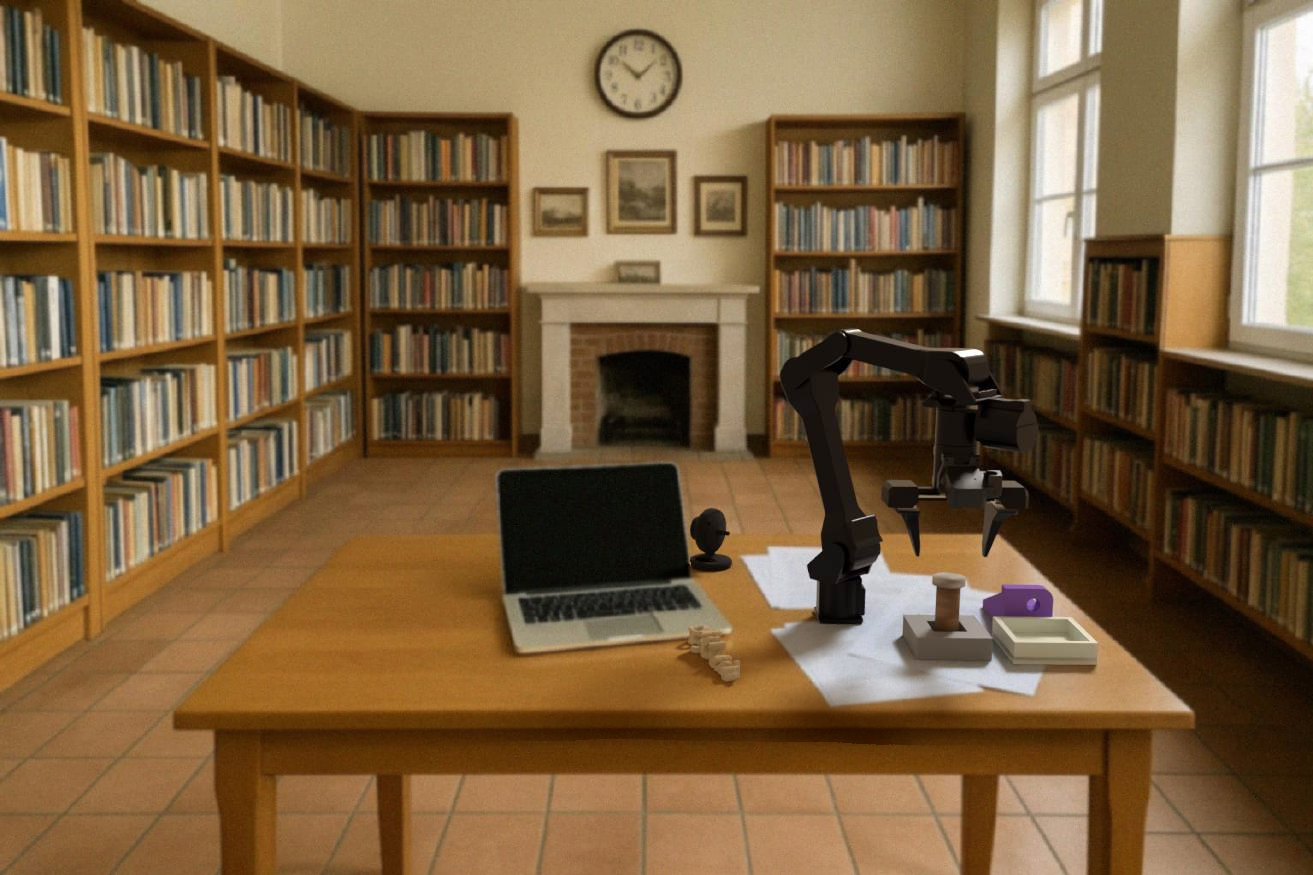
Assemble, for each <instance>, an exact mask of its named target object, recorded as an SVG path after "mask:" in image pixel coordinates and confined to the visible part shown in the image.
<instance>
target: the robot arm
mask: <svg viewBox="0 0 1313 875" xmlns="http://www.w3.org/2000/svg"><path fill="white" fill-rule="evenodd" d="M854 361H857V362H860V363H863V364H868V365H871V366H876V367H880V368H883V369H887V370H890V371H894V372H899V373H903V374H905V375H910V376H912V377H914V378H916V379H918V380H919V381H920V382H921V383H922V384H923V385H925V386H927V387H929V388H931V389H932V390H933V392H932V393H931V395H930V396H928V397H927V398H925V400H923V401H922V402H921V406H922V407H923V408H928V409H929V408H930V409H936V410H935V414H936V415H935V434H934V446H933V452H932V454H933V473H932V474H933V475H931V485H932V486H918V485H917V484H916V483H915V482H913V480H911V479H886V480H885V481H884V482H883V483H882V484H881V495H880V499H881V501H882V502H883V503H884V504H885V506H887V508H891V509H893V510H894V511H895V512H896V513H897V514H898V515H899V514H900V515H901V517H902V519H903V522H904V524H905V527H906V531H907V533H908V536H909V539H910V543H911V546H912V549H913V552H914V556H915V557H917V558H920V555H921V534H920V515H921V510H920V509H919V508H918V506H917V505H918V504H919V501H920V502H921V501H922V502H923V501H926V502H928V501H929V502H941V501H942V502H947V505H948V506H949V507H950V508H952V509H954V510H961V509H962V508H963V509H964V508H965V509H966V508H967V509H970V508H971V509H975V510H983V509H984V514H983V515H984V516H983V527H982V537H981V539H982V540H981V553H982V554H981V555H982V557H984V558H987V557H988V556H989V554H990V552H991V549H992V547H993V546H994V545H993V544H994V542H995V540H996V538H997V535H998V533H999V531H1000V529H1001V527H1002V525H1004V524H1003V523H1004V522H1005V521H1006V520H1007V519H1008V518H1009V517H1010V516H1013V515H1015V516H1016V515H1018V513H1019V510H1027V509H1029V505H1030V504H1029V503H1030V501H1029V499H1030V495H1029V491H1028V490H1027V488H1026V487H1024V486H1023V485H1022V484H1020V483H1019V482H1017V481H1016V480H1003V474H1002V472H1001V470H993V469H990V470H989V469H988V470H984V471H983V470H982V467H981V458H980V456H981V454H980V453H979V445H981V446H983V448H986V449H987V448H988V449H994V450H1002V451H1009V452H1013V453H1014V452H1015V453H1021V454H1027V453H1030V451H1031V450H1033V448H1034V446H1035V445H1036V442H1037V439H1038V435H1039V430H1040V429H1039V427H1040V426H1039V423H1038V419H1037V416H1036V414H1035V411H1034V410H1032V400H1031V399H1026V398H1025V399H1024V398H1020V399H1019V398H1018V399H1011V398H1006V396H1005V395H1004V393H1003V391H1002V389H1001V388H1000V386H999V384H998V382H997V381H996V379H995V377H994V375H993V374H992V372H991V370H990V364H989V361H988V360H987V358H986V356H985V353H983V351H981V350H979V349H976V348H965V347H962V348H961V347H926V346H923V345H919V344H914V343H910V342H906V341H901V340H897V339H894V338H889V337H886V336H881V335H877V334H873V333H869V332H865V331H862V330H860V329H858V328H846V329H845V328H843V329H837V330H834V331H833V332H832V333H830V334H829V335H828V336H827V337H826V338H825V339H824V340H822V341H821V342H818V343H817V344H815V345H813V346H812V347H810V348H808V349H807V350H805V351H803V352H802V353H801V354H799V355H798V356H794V357H793V356H792V357H790V358H788V359H787V360H786V361H785V362H784V363H783V366H782V367H781V369H780V371H779V381H780V384H781V388H782V390H783V392H784V395H785V397H786V400H787V402H788V403H789V405H790V406H791V408H793V410H794V411H795V412H796V413H797V414H798V416H799V417H800V418H801V420H802V424H803V428H804V432H805V436H806V440H807V444H808V449H809V453H810V457H811V461H812V464H813V469H814V472H815V473H814V474H815V477H816V481H817V486H818V490H819V493H820V498H821V501H822V506H823V510H824V517H823V521H822V526H821V530H820V542H821V551H820V552H819V553H818V554H817V555H816V556H815V557H814V558H813V559H811V560H810V561H809V562H808V563H807V564H806V569H807V572H808V577H809V579H810V580H813V581H816V600H815V601H816V602H815V606H814V607H813V611H814V613H815V615H816V619H817V622H818V623H823V624H824V623H825V624H827V623H834V624H835V623H840V624H841V623H843V624H844V623H845V624H846V623H847V624H849V623H850V624H854V623H855V624H858V623H859V624H861V623H864V618H863V616H864V615H866V591H867V590H866V588H865V586H864V584H863V579H862V576H864V575H869V574H870V572H871V568H872V566H873V564H874V563H875V562H877V560H878V558H879V556H880V555H881V551H882V550H881V543H882V542H883V541H884V539H883V537H882V536H881V534H880V532H879V526H878V519H877V516H876V514H870V515H867V514H865V513H864V511H863V510H862V509H861V507H860V506H859V503H858V500H857V497H856V496H857V495H856V492H855V488H854V485H853V484H854V483H853V479H852V476H851V471H850V467H849V463H848V459H847V455H846V451H845V446H844V443H843V439H842V434H841V431H840V425H839V423H838V422H839V421H838V419H837V414H836V408H837V403H838V399H839V394H840V382H839V377H841V376H842V375H843V374H844V373H845V372H847V371H848V370H849V369H850V367H851V366H852V364H853V363H854Z"/></svg>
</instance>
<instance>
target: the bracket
mask: <svg viewBox="0 0 1313 875" xmlns="http://www.w3.org/2000/svg"><path fill="white" fill-rule="evenodd" d="M982 608H983V610H984V611H985V612H986V613H987V614H988V615H989V617H990V618H991V619H992V620H993V617H1053V614H1054V613H1053V612H1054V596H1053V593H1052V592H1051V591H1050V590H1048V589H1047V587H1045V586H1044V585H1041V584H1013V583H1012V584H1009V583H1008V584H1004V583H1002V584H1001V591H1000V592H998V593H996V594H994V595H993V594H992V595H991V596H989V597H986V598H984V599H982Z"/></svg>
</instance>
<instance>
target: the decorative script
mask: <svg viewBox="0 0 1313 875" xmlns="http://www.w3.org/2000/svg"><path fill="white" fill-rule="evenodd" d="M687 630H688V632H689V635H688V641H687V643H688V645H691V646H690V652H692V653H693V654H700V657H701V658H703V659H705V660H708V665H709V666H710V668H712V669H714V672H717V674H718V675H720V678H721V680H722V681H725V682H727V683H728V682H733V681H735V680H737V679H740V676H741V675H740V672H741V670H740V668H741V666H740V664H741V661H740V659H739V660H738V659H737V660H733V657H732V656H731V655H729V654H721V652H723V651H725V650H726V648H727V641H725V640H721V637H722V636H723V631H722V630H721V629H717V628H716V629H711V630H710V629H709V630H708V625H707V624H706V625H698V626H691V625H690V626H688V628H687Z"/></svg>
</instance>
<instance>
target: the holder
mask: <svg viewBox="0 0 1313 875" xmlns="http://www.w3.org/2000/svg"><path fill="white" fill-rule="evenodd" d="M934 630H935V614H903V615H902V637H903V639H904V640H905V643H906V644H907V646H908V647H909V649H910V651H911V652H912V654H913V657H915V659H916V660H939V661H940V660H943V661H944V660H945V661H946V660H947V661H948V660H949V661H950V660H951V661H954V660H956V661H957V660H958V661H959V660H960V661H961V660H962V661H966V660H967V661H992V657H993V641H994V639H993V638H992V635H991V634H990V633H989V632H988V631H987V629H986V628H985V626H983V624H982V623H981V622H980V621H979V619H978V618H977V617H976V616H975V614H974V615H973V614H969V615H968V614H965V615H964V614H963V615H962V614H959V631H958V632H935V631H934Z"/></svg>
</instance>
